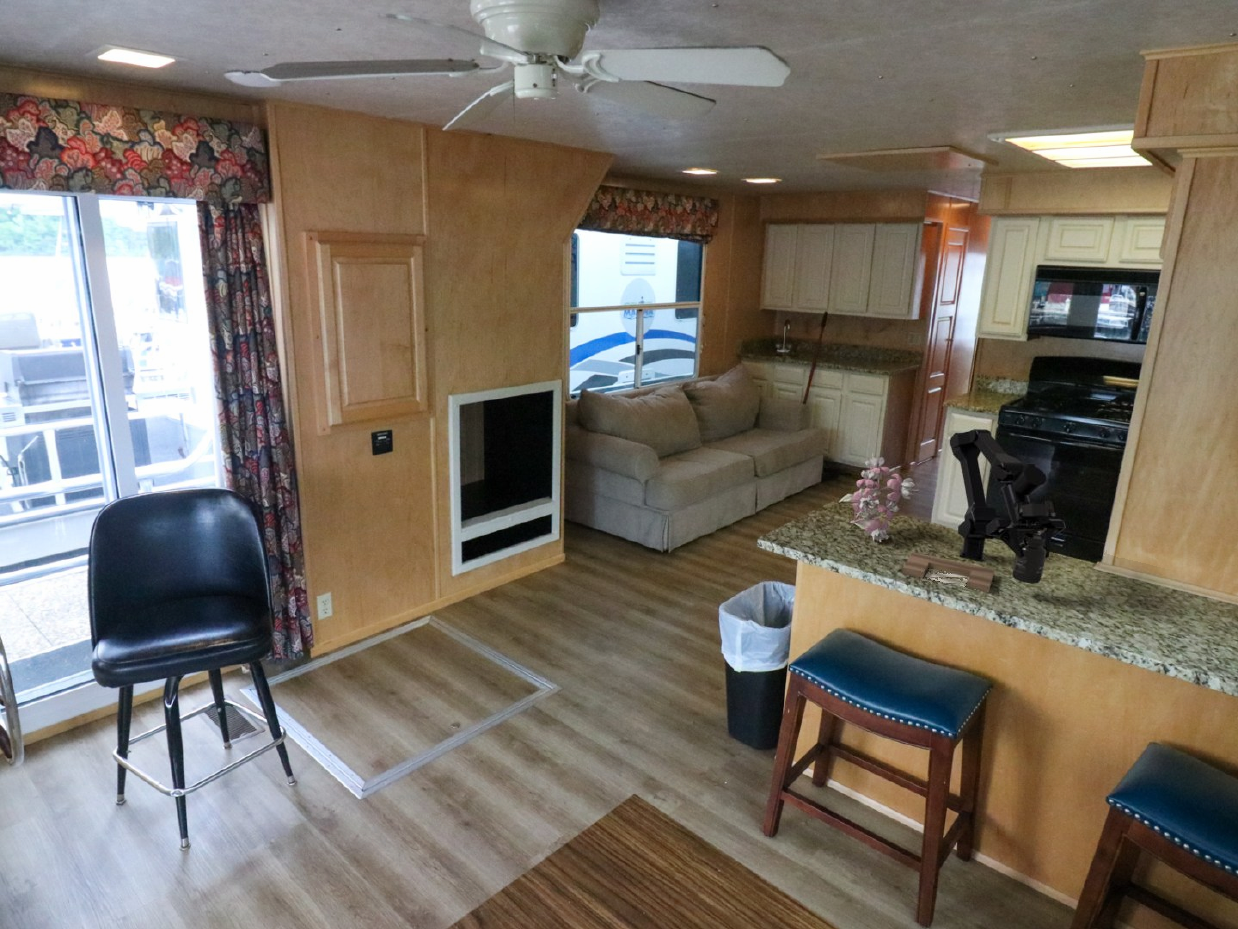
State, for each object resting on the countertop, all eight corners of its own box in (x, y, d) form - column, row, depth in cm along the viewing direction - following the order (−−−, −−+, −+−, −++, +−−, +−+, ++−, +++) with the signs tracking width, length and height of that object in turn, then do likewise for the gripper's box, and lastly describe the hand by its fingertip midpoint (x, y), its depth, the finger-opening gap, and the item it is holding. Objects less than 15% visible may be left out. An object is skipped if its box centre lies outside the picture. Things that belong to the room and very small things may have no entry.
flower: (813, 526, 244) (852, 466, 231) (839, 503, 262) (877, 446, 248) (867, 566, 237) (910, 506, 224) (890, 539, 255) (932, 482, 241)
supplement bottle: (1044, 585, 198) (1053, 542, 194) (1015, 582, 199) (1024, 539, 196) (1036, 575, 204) (1044, 533, 201) (1008, 572, 205) (1016, 530, 202)
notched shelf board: (911, 558, 225) (912, 552, 225) (993, 575, 215) (994, 569, 214) (902, 574, 214) (903, 567, 213) (988, 593, 203) (989, 586, 202)
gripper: (999, 488, 198) (1014, 544, 191) (1068, 490, 200) (1087, 545, 192) (978, 507, 208) (993, 561, 200) (1045, 509, 209) (1062, 562, 202)
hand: (1033, 557), depth 198 cm, fingers closed on supplement bottle, 7 cm apart
